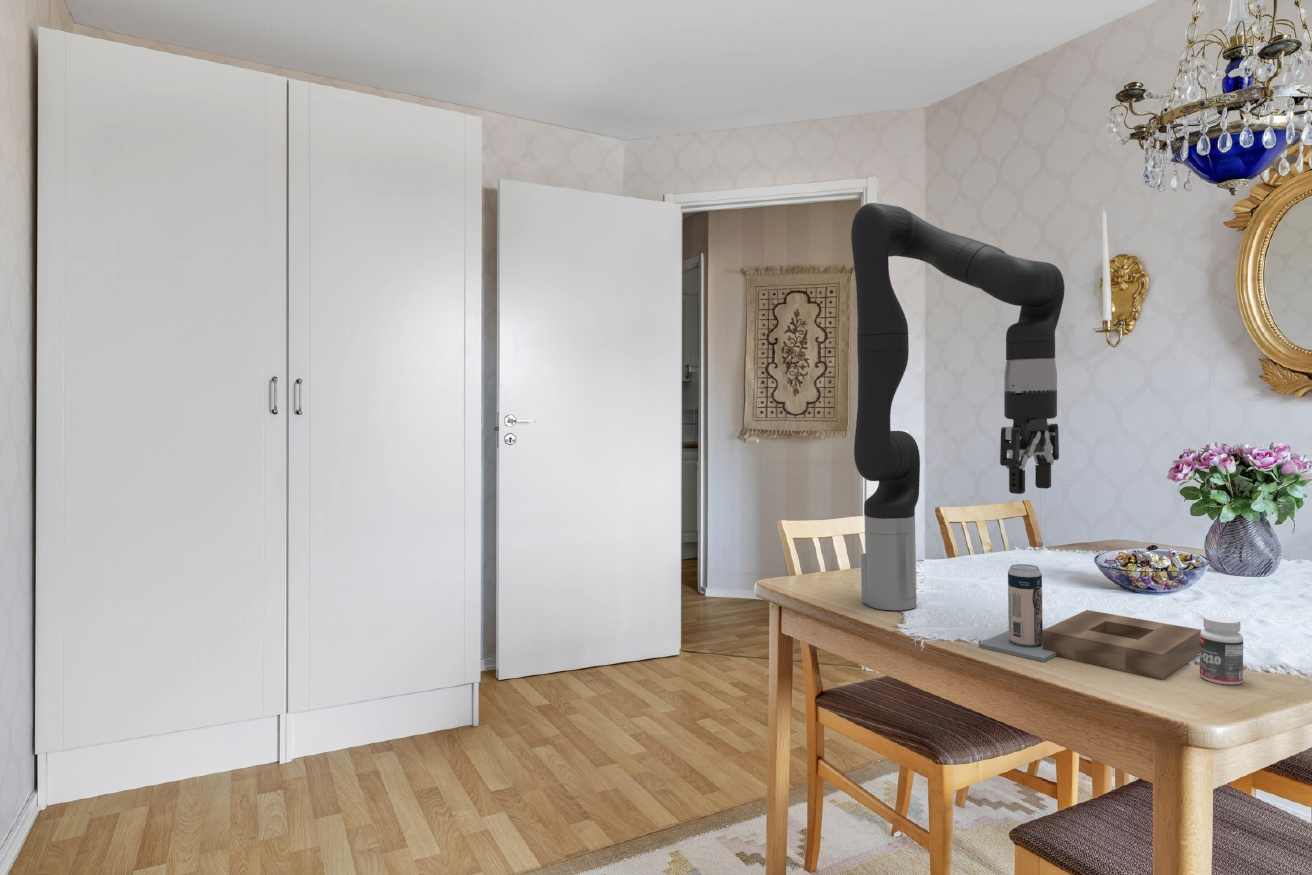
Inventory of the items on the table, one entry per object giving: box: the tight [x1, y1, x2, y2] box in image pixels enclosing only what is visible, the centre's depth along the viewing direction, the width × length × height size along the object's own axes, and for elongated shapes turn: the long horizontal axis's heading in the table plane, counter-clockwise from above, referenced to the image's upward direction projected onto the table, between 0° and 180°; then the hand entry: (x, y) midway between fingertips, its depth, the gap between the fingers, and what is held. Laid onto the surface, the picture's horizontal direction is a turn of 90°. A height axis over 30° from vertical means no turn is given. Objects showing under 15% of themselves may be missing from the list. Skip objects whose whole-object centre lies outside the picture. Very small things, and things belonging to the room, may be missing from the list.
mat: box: [978, 630, 1057, 663], centre depth 120 cm, size 10×10×1 cm
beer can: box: [1007, 563, 1044, 646], centre depth 120 cm, size 5×5×12 cm
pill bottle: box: [1199, 614, 1244, 686], centre depth 104 cm, size 5×5×8 cm
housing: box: [1043, 609, 1202, 681], centre depth 116 cm, size 16×16×4 cm
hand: (1030, 490), depth 122 cm, fingers open, 8 cm apart
